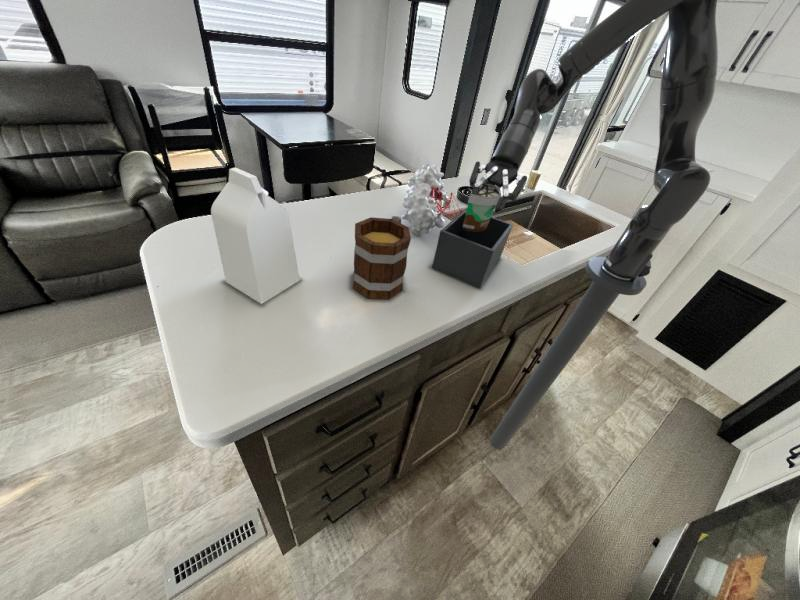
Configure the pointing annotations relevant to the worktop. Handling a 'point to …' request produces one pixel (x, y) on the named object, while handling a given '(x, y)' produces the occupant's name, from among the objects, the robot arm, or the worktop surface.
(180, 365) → the worktop surface
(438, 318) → the worktop surface
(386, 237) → the mug
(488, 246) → the bin
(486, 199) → the food container
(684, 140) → the robot arm
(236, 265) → the milk
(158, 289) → the worktop surface
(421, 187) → the protein dna model
